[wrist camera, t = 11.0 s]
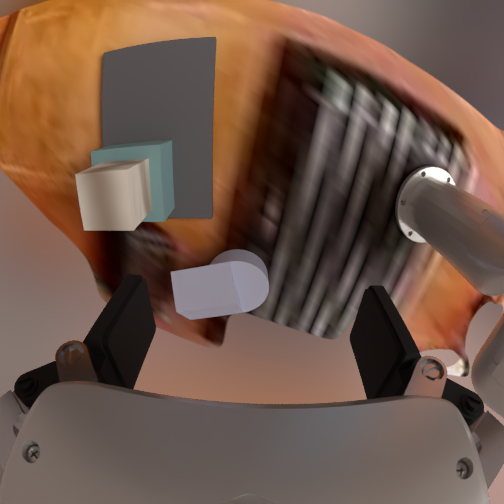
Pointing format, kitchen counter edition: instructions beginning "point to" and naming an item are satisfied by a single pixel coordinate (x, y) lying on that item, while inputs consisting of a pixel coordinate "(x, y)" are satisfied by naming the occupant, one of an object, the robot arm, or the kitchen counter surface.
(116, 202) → the cream cube
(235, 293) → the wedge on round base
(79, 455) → the robot arm
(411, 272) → the kitchen counter surface
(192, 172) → the mat
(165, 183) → the plinth
